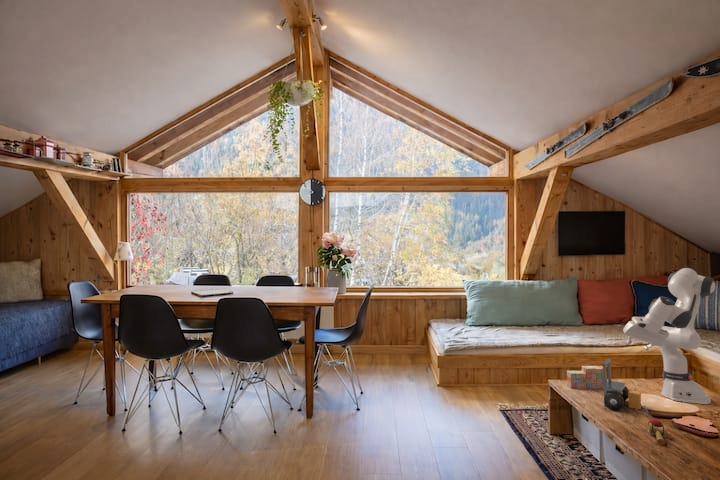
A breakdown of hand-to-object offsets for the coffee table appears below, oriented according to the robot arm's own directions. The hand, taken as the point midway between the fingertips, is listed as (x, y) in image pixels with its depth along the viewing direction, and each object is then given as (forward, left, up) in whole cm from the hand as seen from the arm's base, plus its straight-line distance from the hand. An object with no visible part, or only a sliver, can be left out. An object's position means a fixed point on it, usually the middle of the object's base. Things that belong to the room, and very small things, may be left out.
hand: (636, 346), depth 235 cm
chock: (+2, -1, -33) cm, 33 cm away
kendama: (-12, +35, -34) cm, 50 cm away
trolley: (+10, +1, -33) cm, 35 cm away
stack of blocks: (+30, -23, -34) cm, 51 cm away
